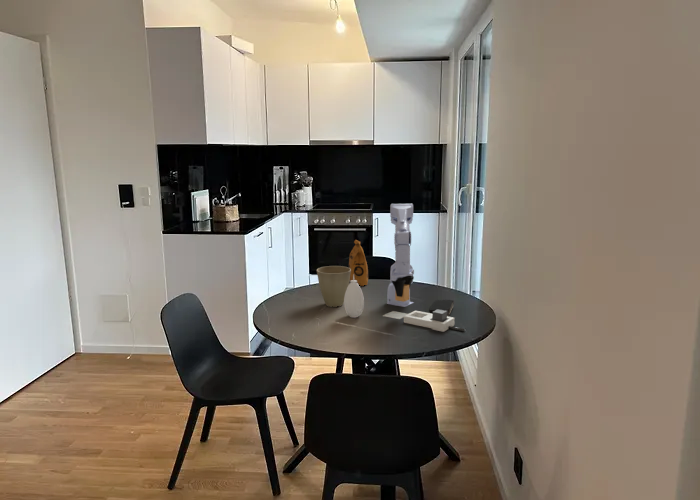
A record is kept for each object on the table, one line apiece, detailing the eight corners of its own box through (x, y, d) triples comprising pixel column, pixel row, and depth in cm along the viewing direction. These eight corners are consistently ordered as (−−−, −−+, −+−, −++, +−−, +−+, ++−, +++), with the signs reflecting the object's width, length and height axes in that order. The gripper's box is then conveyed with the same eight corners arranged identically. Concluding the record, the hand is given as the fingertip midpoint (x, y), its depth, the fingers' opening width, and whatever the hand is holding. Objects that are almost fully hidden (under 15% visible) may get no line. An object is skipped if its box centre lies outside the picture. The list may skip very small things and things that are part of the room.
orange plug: (395, 300, 204) (395, 285, 203) (400, 297, 208) (400, 283, 207) (404, 301, 202) (404, 286, 201) (409, 299, 205) (409, 284, 204)
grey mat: (382, 316, 208) (382, 315, 208) (392, 312, 214) (392, 310, 214) (399, 320, 203) (399, 319, 203) (409, 315, 209) (409, 314, 209)
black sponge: (449, 318, 205) (449, 310, 205) (427, 317, 208) (428, 308, 207) (454, 307, 220) (454, 299, 220) (434, 306, 223) (434, 298, 222)
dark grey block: (432, 327, 195) (432, 311, 194) (437, 324, 198) (437, 309, 197) (441, 329, 192) (442, 313, 191) (446, 326, 195) (446, 311, 194)
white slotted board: (403, 323, 199) (403, 316, 199) (415, 317, 206) (415, 310, 206) (458, 334, 186) (459, 326, 185) (469, 328, 193) (469, 320, 192)
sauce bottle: (354, 313, 213) (353, 271, 210) (367, 317, 208) (367, 273, 204) (340, 317, 208) (339, 274, 205) (354, 321, 202) (353, 277, 199)
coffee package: (349, 286, 258) (348, 243, 254) (348, 281, 270) (347, 239, 266) (368, 286, 258) (368, 243, 254) (367, 280, 270) (367, 239, 266)
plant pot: (311, 307, 222) (310, 271, 219) (326, 299, 236) (325, 265, 233) (343, 311, 217) (343, 274, 214) (356, 302, 230) (356, 267, 227)
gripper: (401, 265, 194) (401, 300, 196) (420, 259, 205) (420, 292, 208) (386, 263, 198) (386, 297, 201) (405, 257, 210) (405, 290, 212)
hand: (402, 295), depth 204 cm, fingers closed on orange plug, 4 cm apart
